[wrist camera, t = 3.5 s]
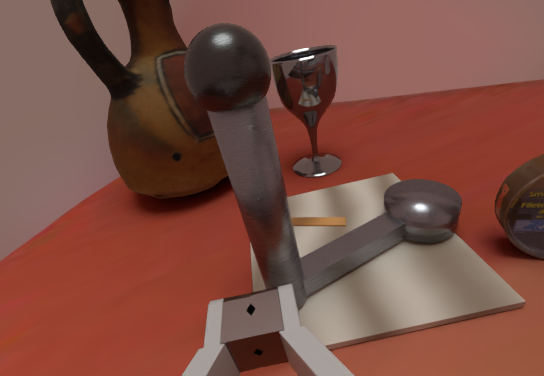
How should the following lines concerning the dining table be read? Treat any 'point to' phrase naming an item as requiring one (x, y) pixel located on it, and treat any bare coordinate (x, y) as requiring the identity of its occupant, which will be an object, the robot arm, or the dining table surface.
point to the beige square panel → (387, 273)
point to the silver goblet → (308, 98)
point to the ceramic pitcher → (149, 102)
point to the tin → (524, 207)
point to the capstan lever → (269, 180)
